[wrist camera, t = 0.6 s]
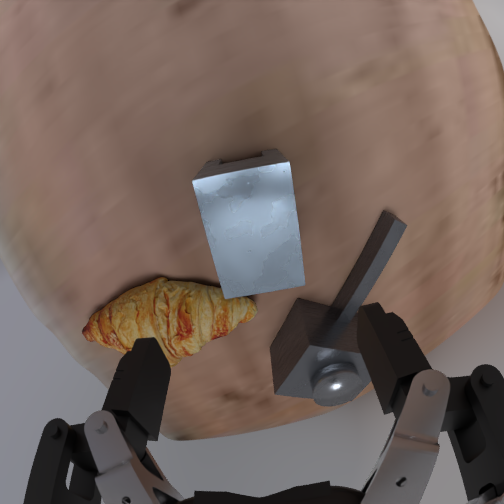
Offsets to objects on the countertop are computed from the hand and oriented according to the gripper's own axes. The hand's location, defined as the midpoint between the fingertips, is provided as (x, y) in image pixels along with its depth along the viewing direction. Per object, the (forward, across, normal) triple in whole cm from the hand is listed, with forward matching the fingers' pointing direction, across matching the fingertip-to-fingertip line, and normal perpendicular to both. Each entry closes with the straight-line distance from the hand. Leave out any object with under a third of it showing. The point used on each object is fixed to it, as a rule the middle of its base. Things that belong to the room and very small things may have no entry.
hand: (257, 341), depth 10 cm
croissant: (+17, +12, +10) cm, 23 cm away
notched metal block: (+16, 0, 0) cm, 16 cm away
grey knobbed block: (+16, -8, +12) cm, 22 cm away
